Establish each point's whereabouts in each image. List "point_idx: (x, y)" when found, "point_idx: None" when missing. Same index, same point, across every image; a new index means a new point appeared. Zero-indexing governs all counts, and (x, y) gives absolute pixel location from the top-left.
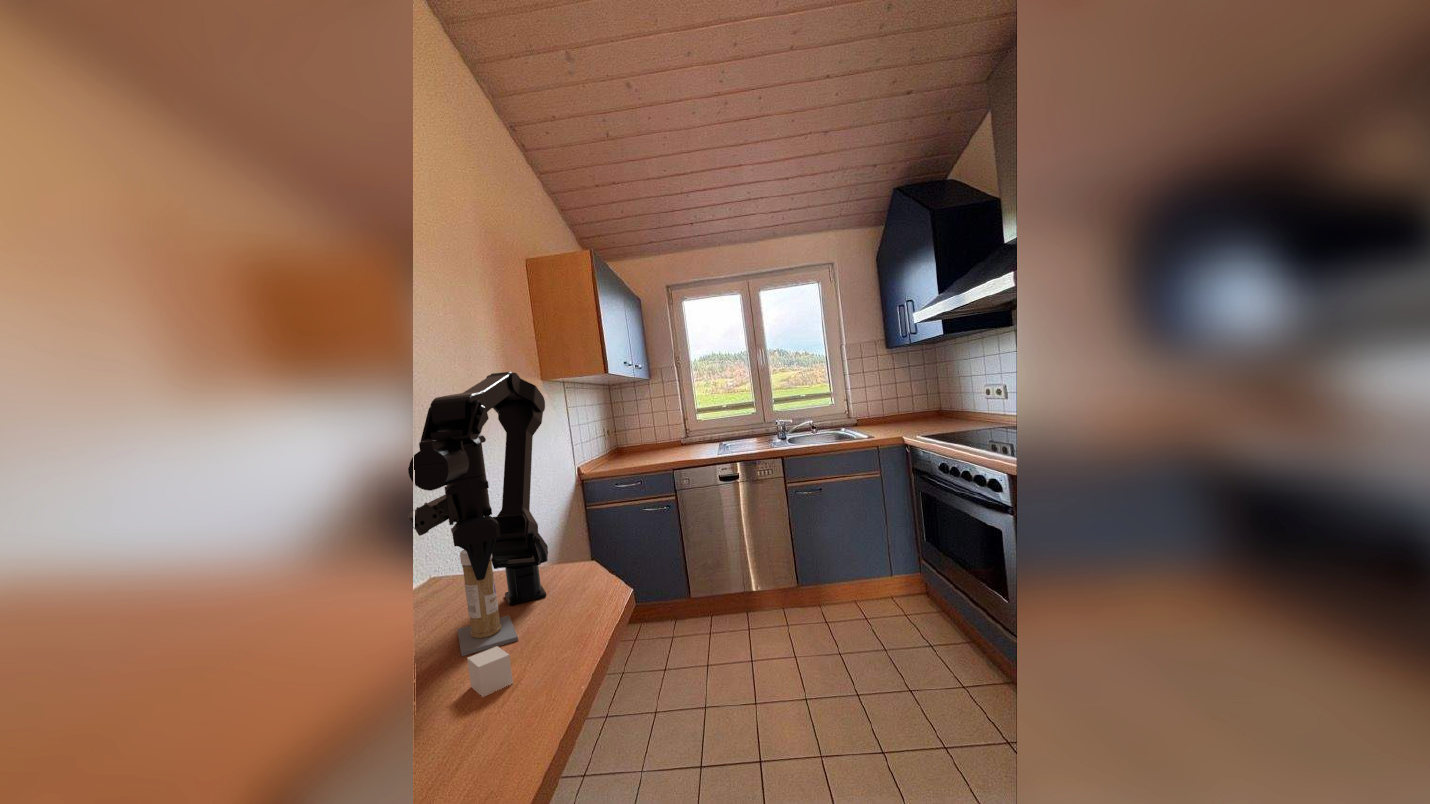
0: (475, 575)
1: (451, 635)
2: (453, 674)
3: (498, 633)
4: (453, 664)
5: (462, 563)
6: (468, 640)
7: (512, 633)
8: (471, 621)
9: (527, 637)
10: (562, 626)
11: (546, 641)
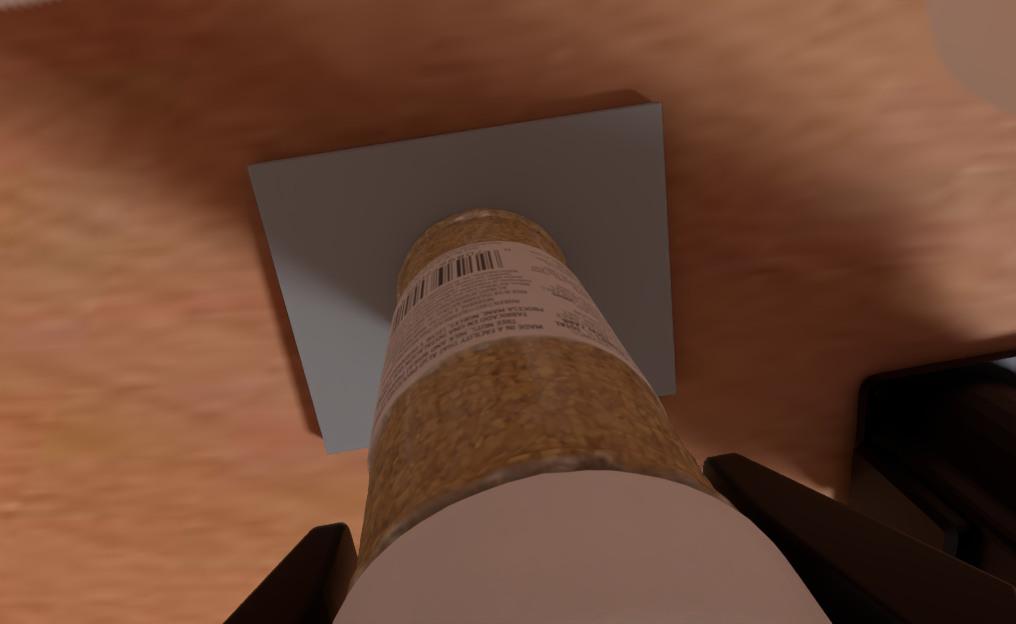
0: (272, 571)
1: (631, 64)
2: (11, 139)
3: None
4: (158, 125)
5: (431, 529)
6: (415, 195)
7: None
8: (445, 249)
9: (351, 481)
10: None
11: (254, 561)
